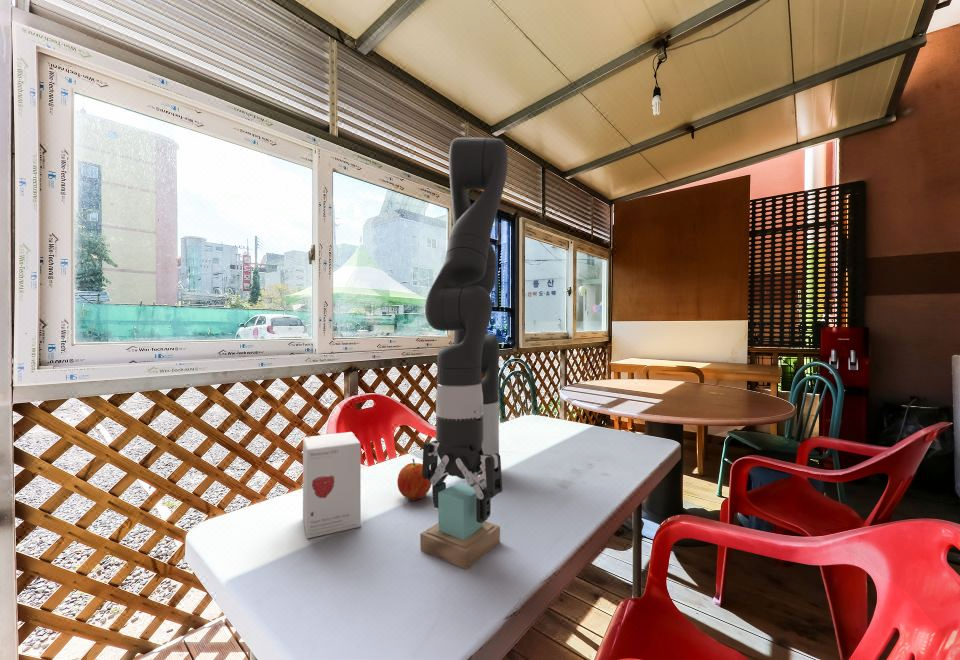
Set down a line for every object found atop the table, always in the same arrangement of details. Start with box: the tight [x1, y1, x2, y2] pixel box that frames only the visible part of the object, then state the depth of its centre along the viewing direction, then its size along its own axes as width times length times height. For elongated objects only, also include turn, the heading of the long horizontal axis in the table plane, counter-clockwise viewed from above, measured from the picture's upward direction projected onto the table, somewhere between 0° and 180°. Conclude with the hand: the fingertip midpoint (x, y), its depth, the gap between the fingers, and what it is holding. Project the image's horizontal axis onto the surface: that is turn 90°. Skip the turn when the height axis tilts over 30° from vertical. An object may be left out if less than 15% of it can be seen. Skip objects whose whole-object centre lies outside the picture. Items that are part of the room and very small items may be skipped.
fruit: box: [396, 458, 432, 501], centre depth 81 cm, size 7×7×8 cm
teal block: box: [437, 482, 483, 540], centre depth 63 cm, size 5×5×6 cm
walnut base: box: [419, 521, 501, 570], centre depth 63 cm, size 9×9×3 cm
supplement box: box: [302, 431, 362, 539], centre depth 71 cm, size 9×9×15 cm
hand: (460, 513), depth 63 cm, fingers open, 8 cm apart
